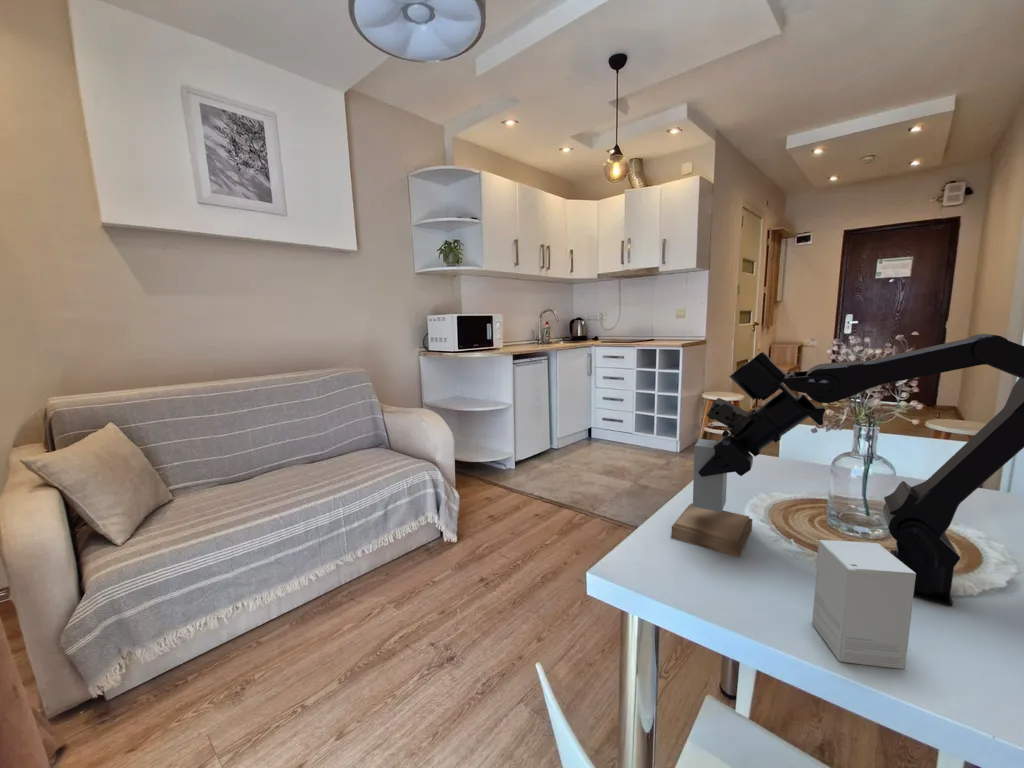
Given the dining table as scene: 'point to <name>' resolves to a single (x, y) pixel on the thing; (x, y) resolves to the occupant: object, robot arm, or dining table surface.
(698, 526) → the walnut stand
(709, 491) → the block
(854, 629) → the supplement box
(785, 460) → the dining table surface
